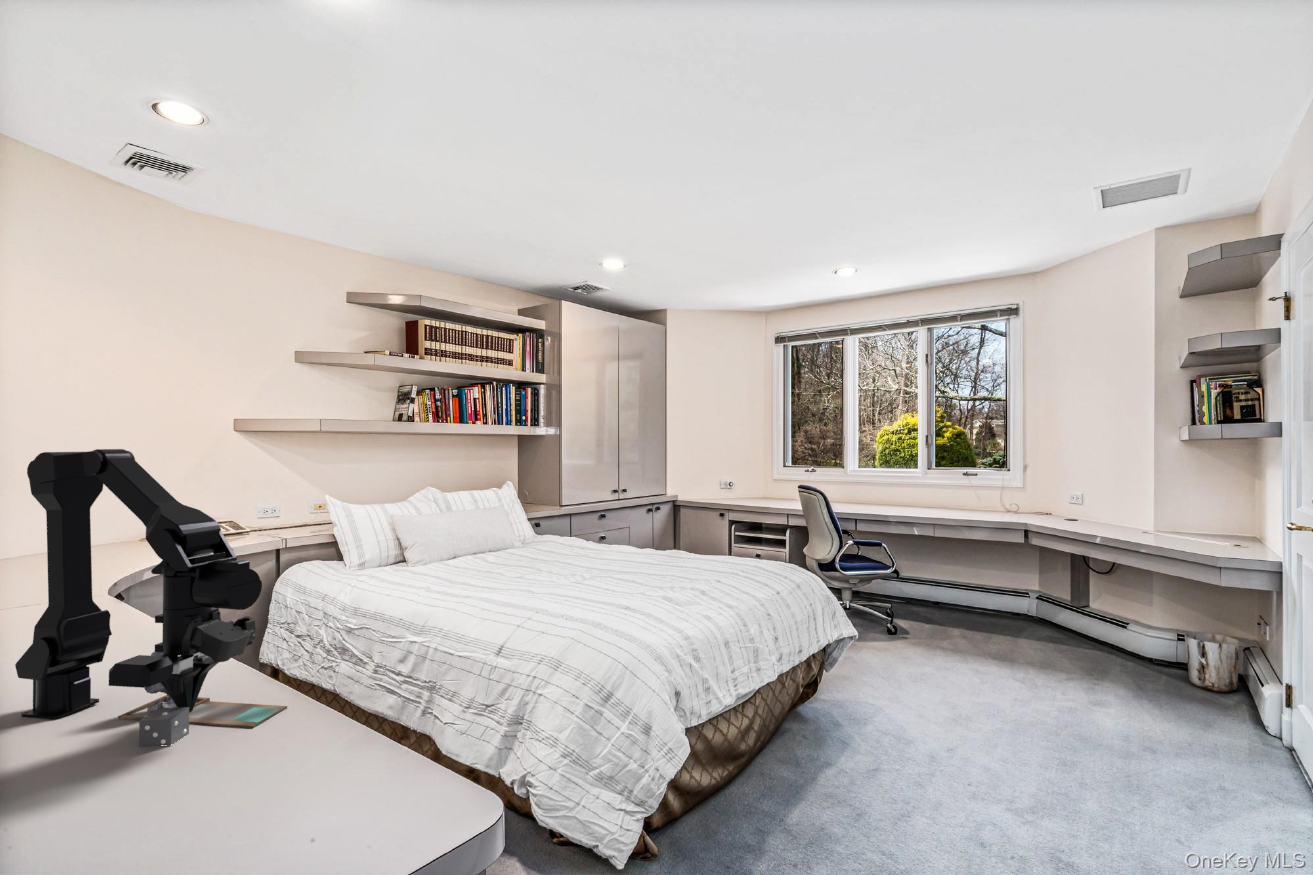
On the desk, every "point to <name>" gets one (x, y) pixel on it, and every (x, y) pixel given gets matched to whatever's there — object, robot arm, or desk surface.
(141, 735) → the die
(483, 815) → the desk surface
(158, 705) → the seashell
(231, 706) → the board
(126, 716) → the frame
